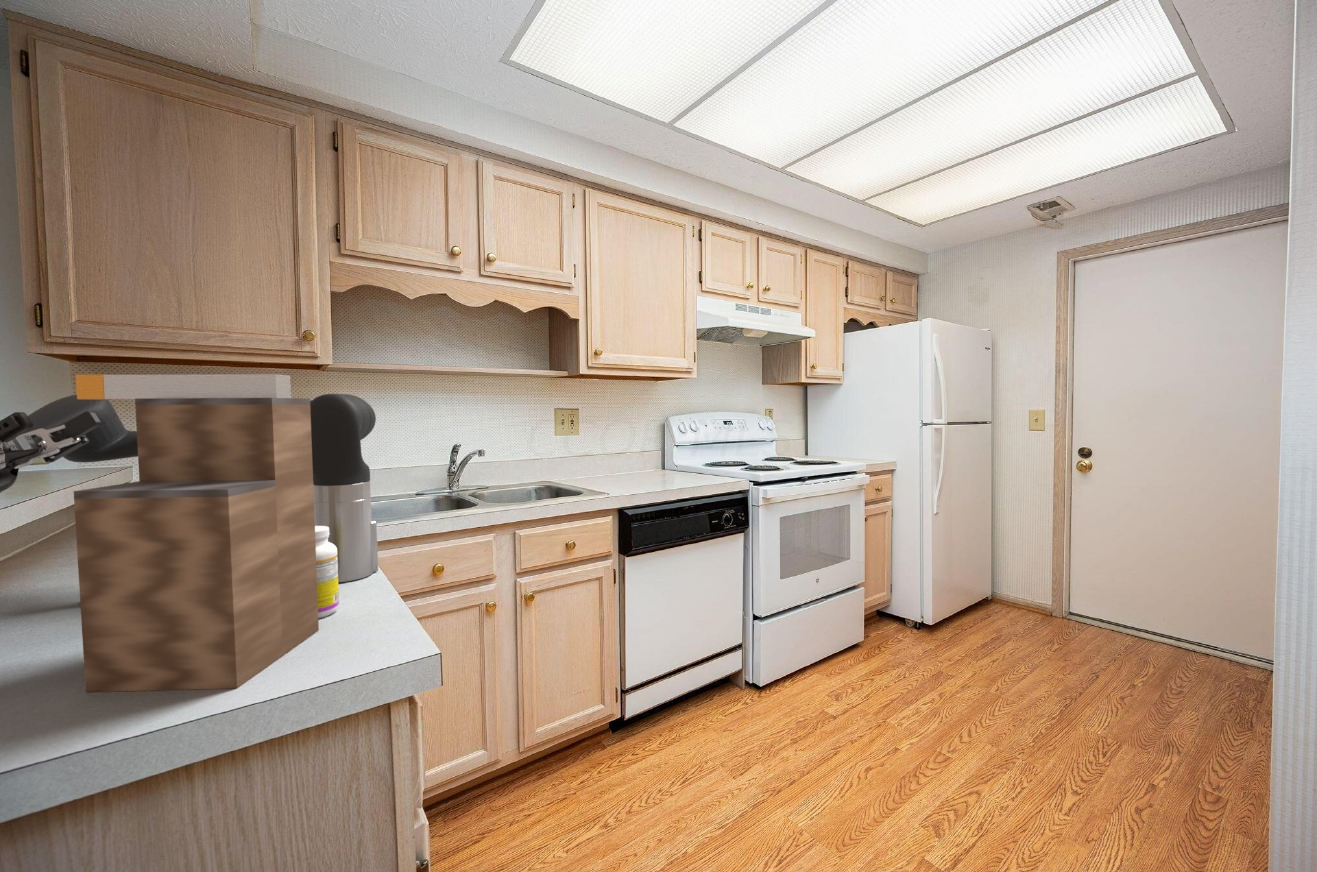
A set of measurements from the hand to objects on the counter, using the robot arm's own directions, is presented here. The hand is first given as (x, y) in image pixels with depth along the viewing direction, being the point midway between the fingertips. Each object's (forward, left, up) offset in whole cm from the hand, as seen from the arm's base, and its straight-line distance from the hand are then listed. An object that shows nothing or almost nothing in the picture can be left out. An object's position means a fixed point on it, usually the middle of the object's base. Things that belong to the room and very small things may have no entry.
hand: (63, 417), depth 71 cm
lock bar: (-8, +13, +2) cm, 15 cm away
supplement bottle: (-21, +15, -30) cm, 40 cm away
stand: (-7, +20, -30) cm, 36 cm away
